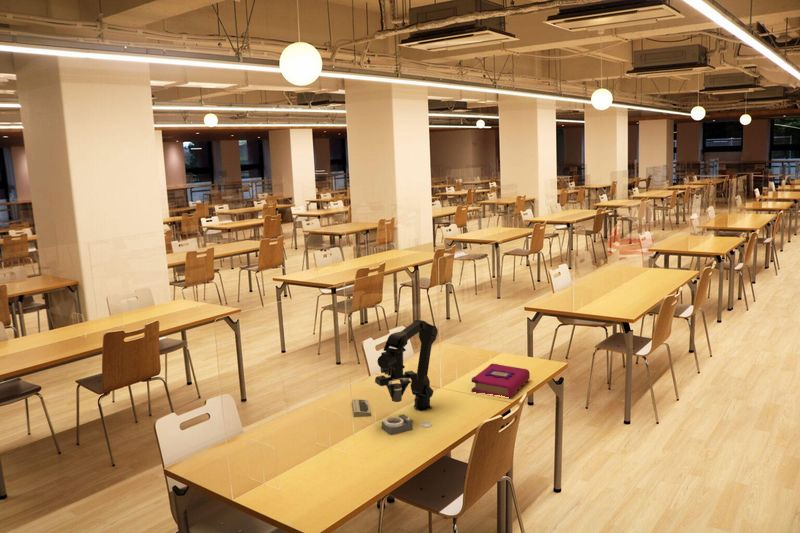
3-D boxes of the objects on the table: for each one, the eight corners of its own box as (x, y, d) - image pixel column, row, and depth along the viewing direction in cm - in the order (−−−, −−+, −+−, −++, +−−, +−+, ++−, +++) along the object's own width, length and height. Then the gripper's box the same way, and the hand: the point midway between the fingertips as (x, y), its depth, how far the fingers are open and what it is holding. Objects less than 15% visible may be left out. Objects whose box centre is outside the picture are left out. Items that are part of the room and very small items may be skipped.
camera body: (403, 423, 303) (403, 412, 302) (412, 429, 296) (412, 419, 295) (381, 428, 298) (381, 417, 297) (390, 435, 291) (390, 424, 290)
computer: (371, 417, 311) (371, 410, 311) (353, 418, 310) (353, 411, 310) (368, 404, 327) (368, 397, 326) (351, 405, 326) (351, 398, 325)
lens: (398, 397, 305) (398, 382, 304) (403, 400, 301) (403, 385, 300) (389, 399, 303) (389, 383, 302) (394, 402, 299) (394, 387, 298)
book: (529, 382, 354) (529, 368, 352) (510, 400, 330) (510, 385, 328) (491, 375, 364) (491, 362, 362) (470, 392, 340) (470, 378, 338)
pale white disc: (428, 422, 304) (428, 421, 304) (434, 426, 300) (434, 425, 300) (418, 425, 302) (418, 423, 302) (424, 429, 298) (424, 427, 297)
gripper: (406, 355, 311) (406, 388, 313) (369, 360, 302) (369, 394, 304) (418, 361, 301) (418, 395, 304) (380, 367, 292) (380, 402, 295)
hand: (396, 396), depth 302 cm, fingers closed on lens, 4 cm apart
